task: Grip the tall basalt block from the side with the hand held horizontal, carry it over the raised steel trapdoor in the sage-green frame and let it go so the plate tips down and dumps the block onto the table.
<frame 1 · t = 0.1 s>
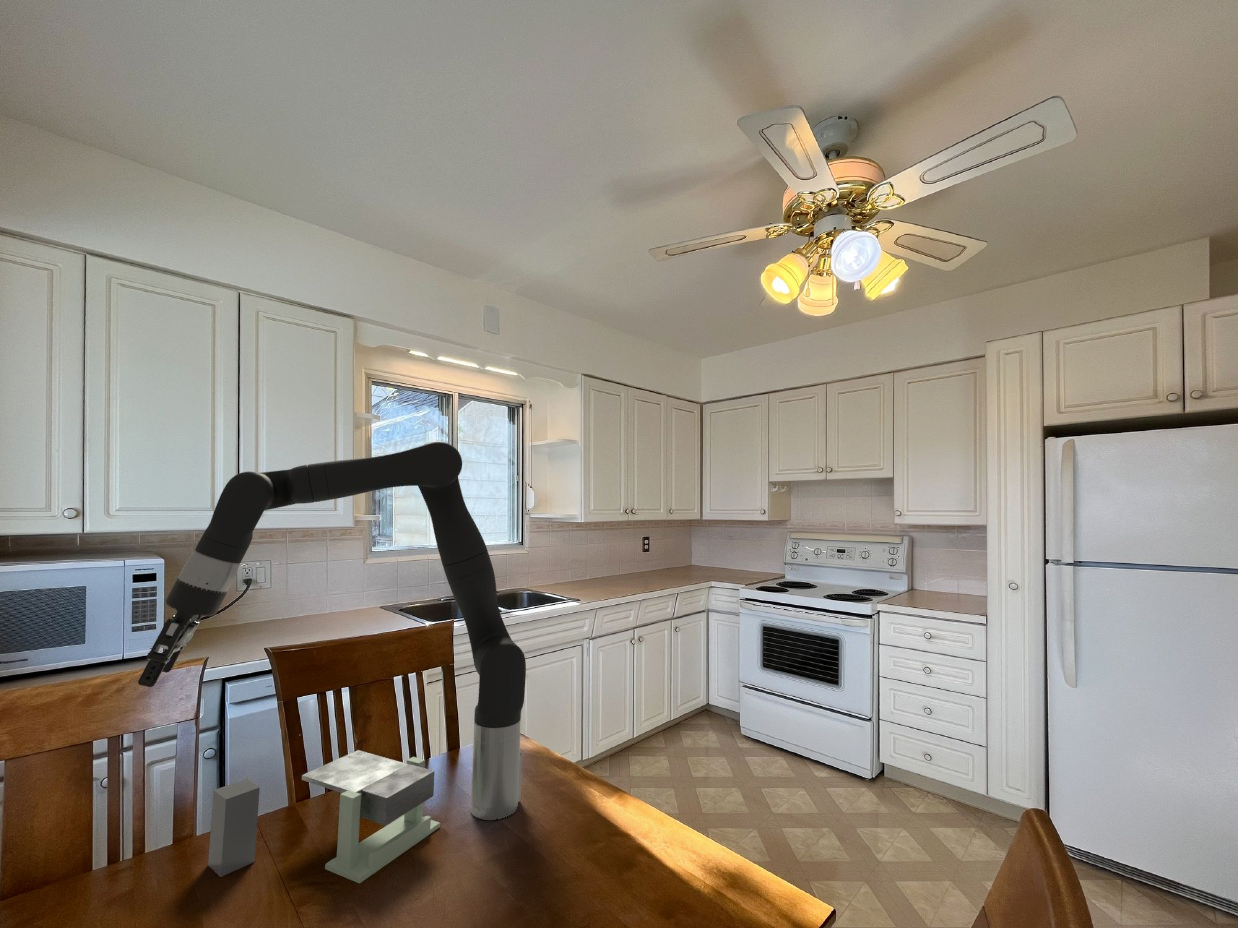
hand: (154, 677, 92), 31 cm above the table, tool tilted 20°, fingers open, 8 cm apart
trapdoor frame: (381, 844, 100), on the table
basalt block: (231, 863, 94), on the table
trapdoor: (369, 783, 103), point 10 cm above the table, hinge at 0.0°
sea urchin shell: (383, 789, 121), on the table
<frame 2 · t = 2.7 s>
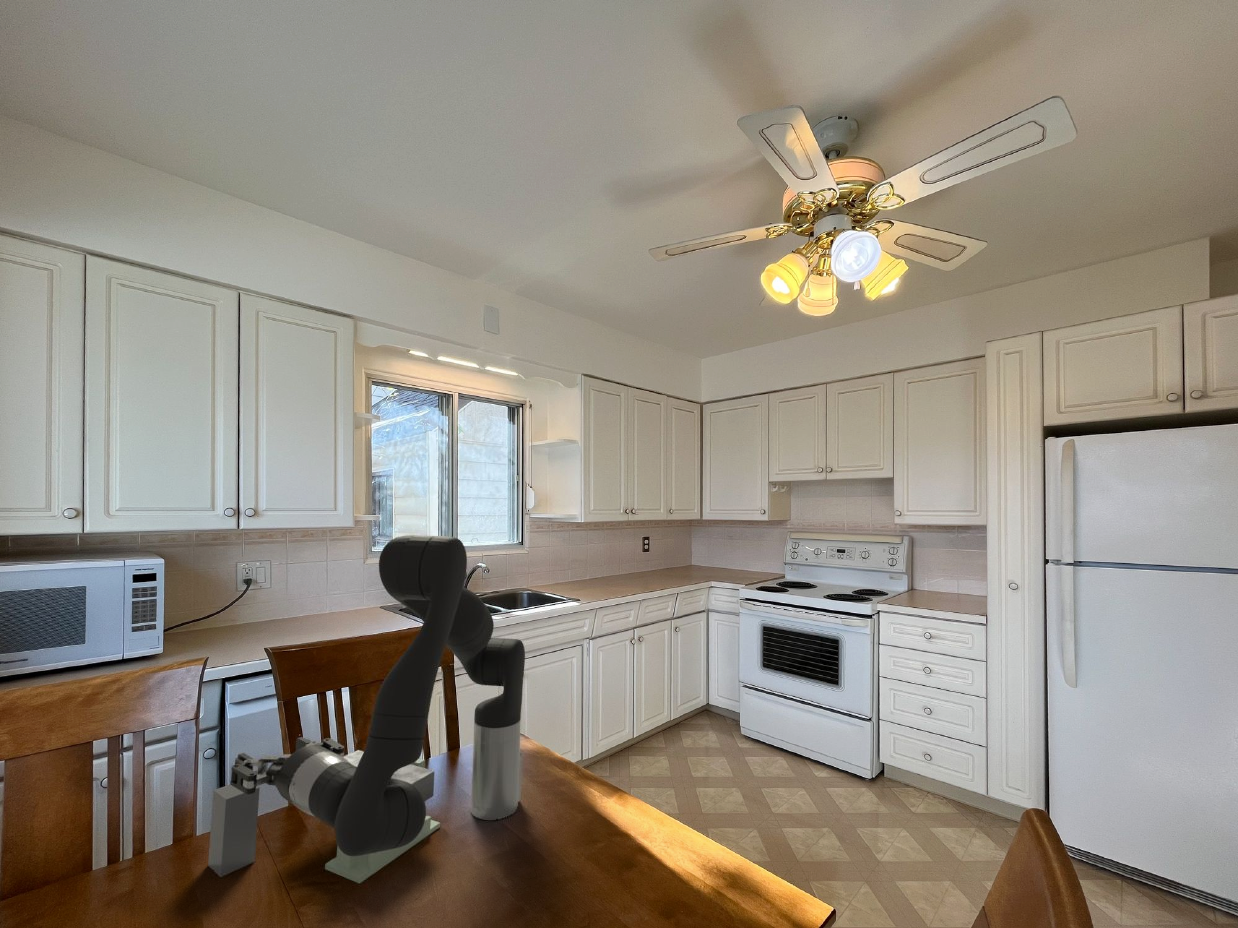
hand: (269, 751, 90), 20 cm above the table, tool horizontal, fingers open, 8 cm apart
nothing on the table moved.
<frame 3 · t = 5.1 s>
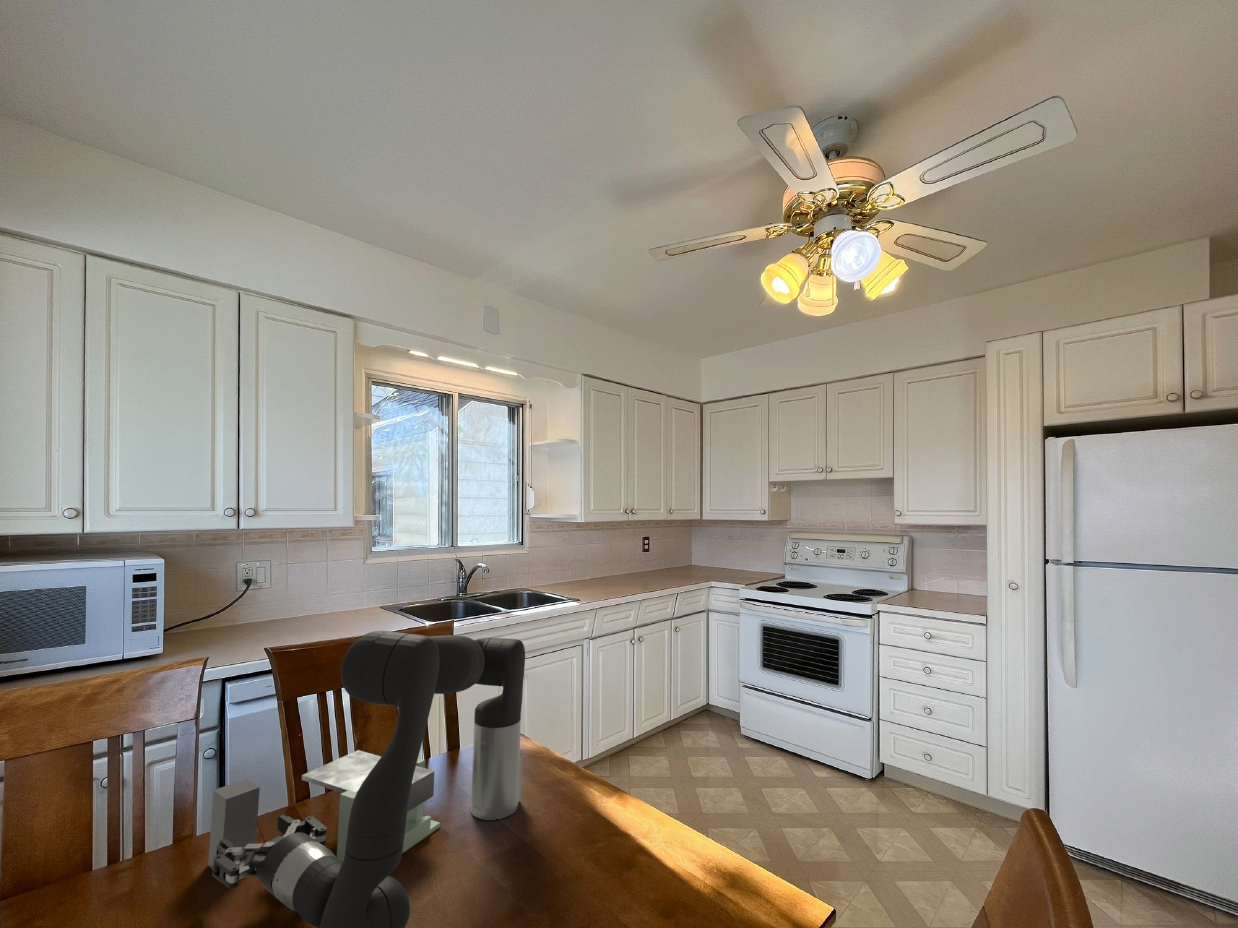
hand: (251, 833, 91), 7 cm above the table, tool horizontal, fingers open, 8 cm apart
nothing on the table moved.
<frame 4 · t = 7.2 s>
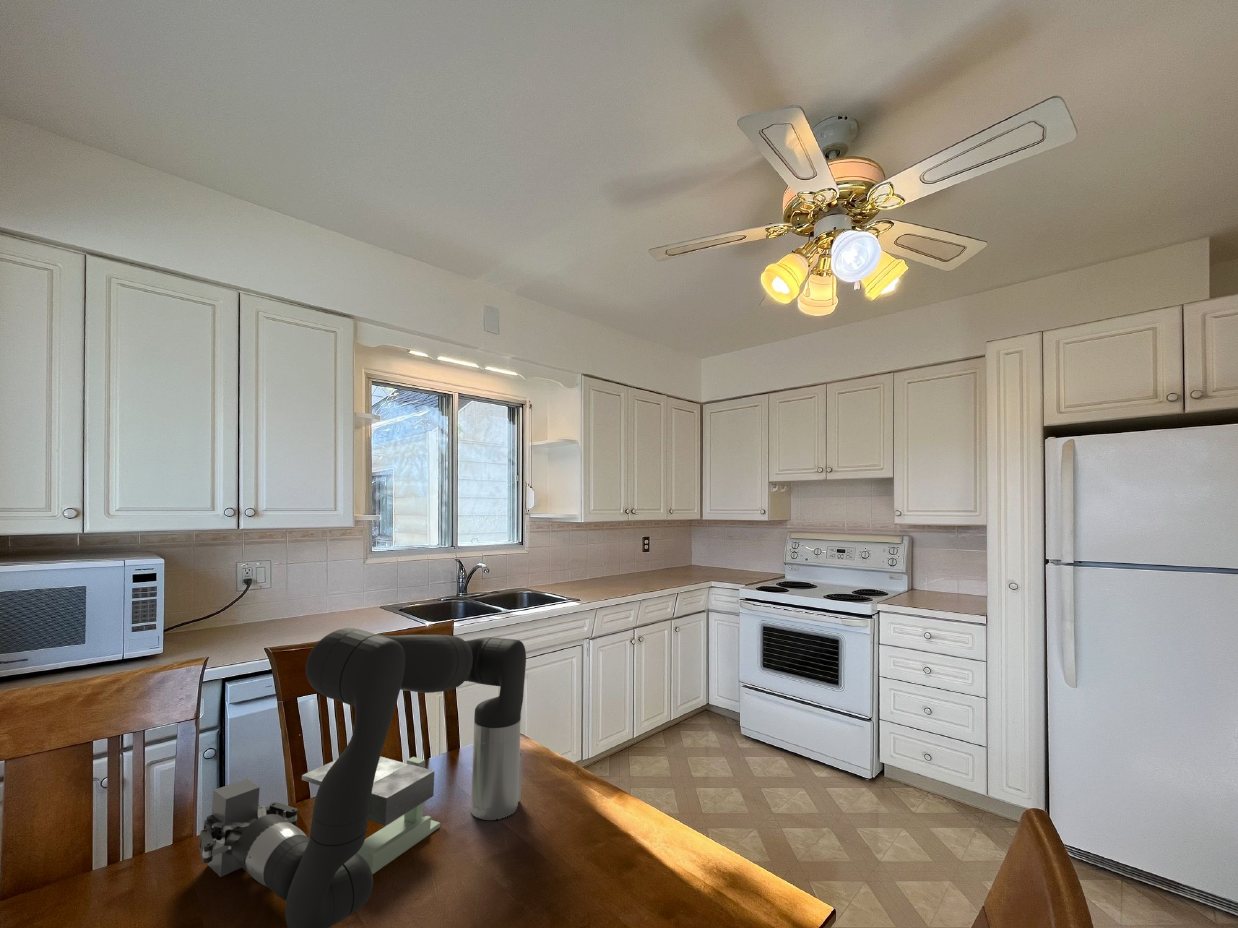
hand: (227, 814, 96), 7 cm above the table, tool horizontal, fingers closed on basalt block, 5 cm apart
basalt block: (231, 863, 94), on the table, touching gripper
everything else where it was.
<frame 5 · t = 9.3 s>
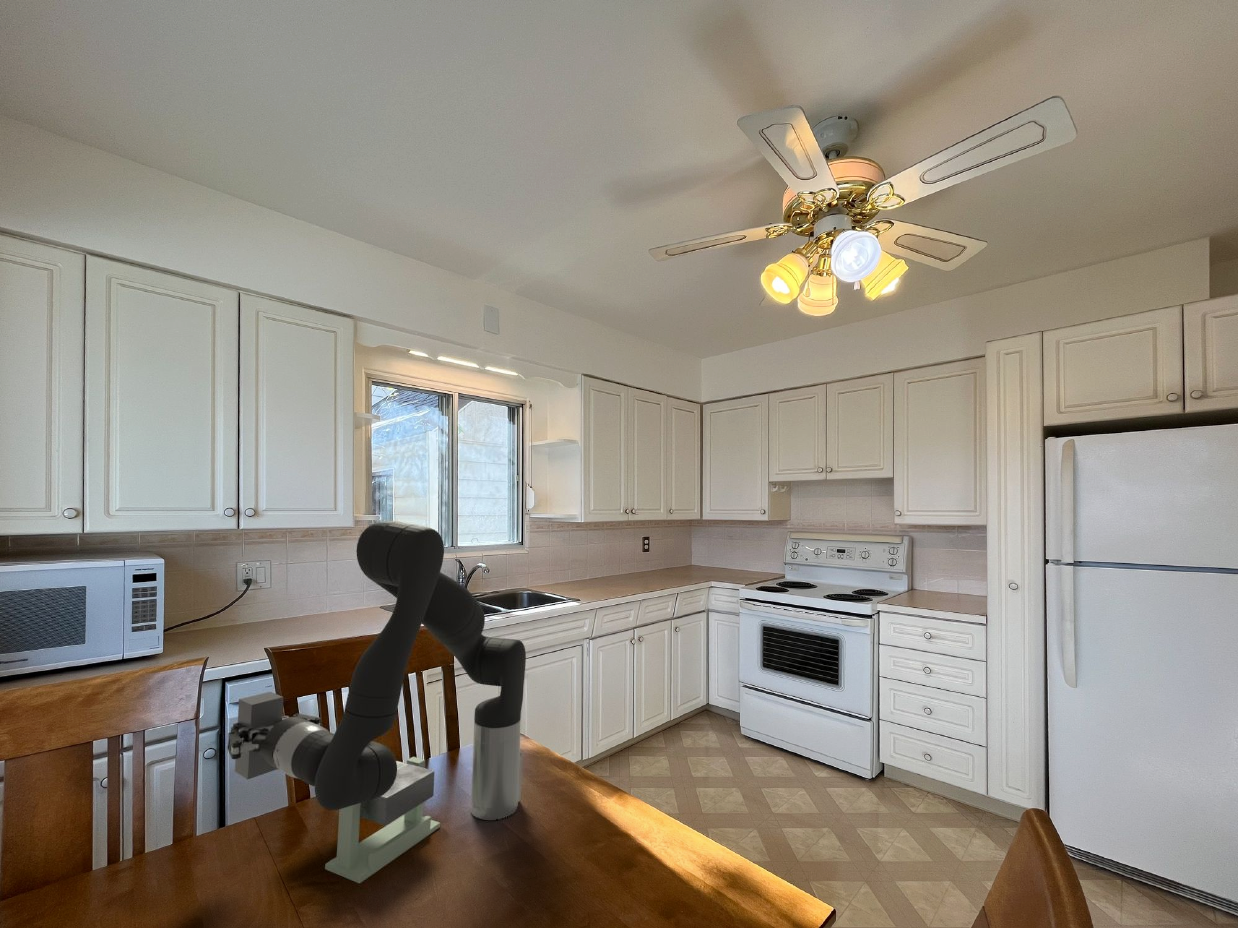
hand: (253, 724, 99), 21 cm above the table, tool horizontal, fingers closed on basalt block, 5 cm apart
basalt block: (257, 769, 97), point 14 cm above the table, touching gripper
everything else where it was.
when the fingers open (21 cm above the table, at t = 11.2 s): basalt block drops 12 cm and tips over, point 2 cm above the table.
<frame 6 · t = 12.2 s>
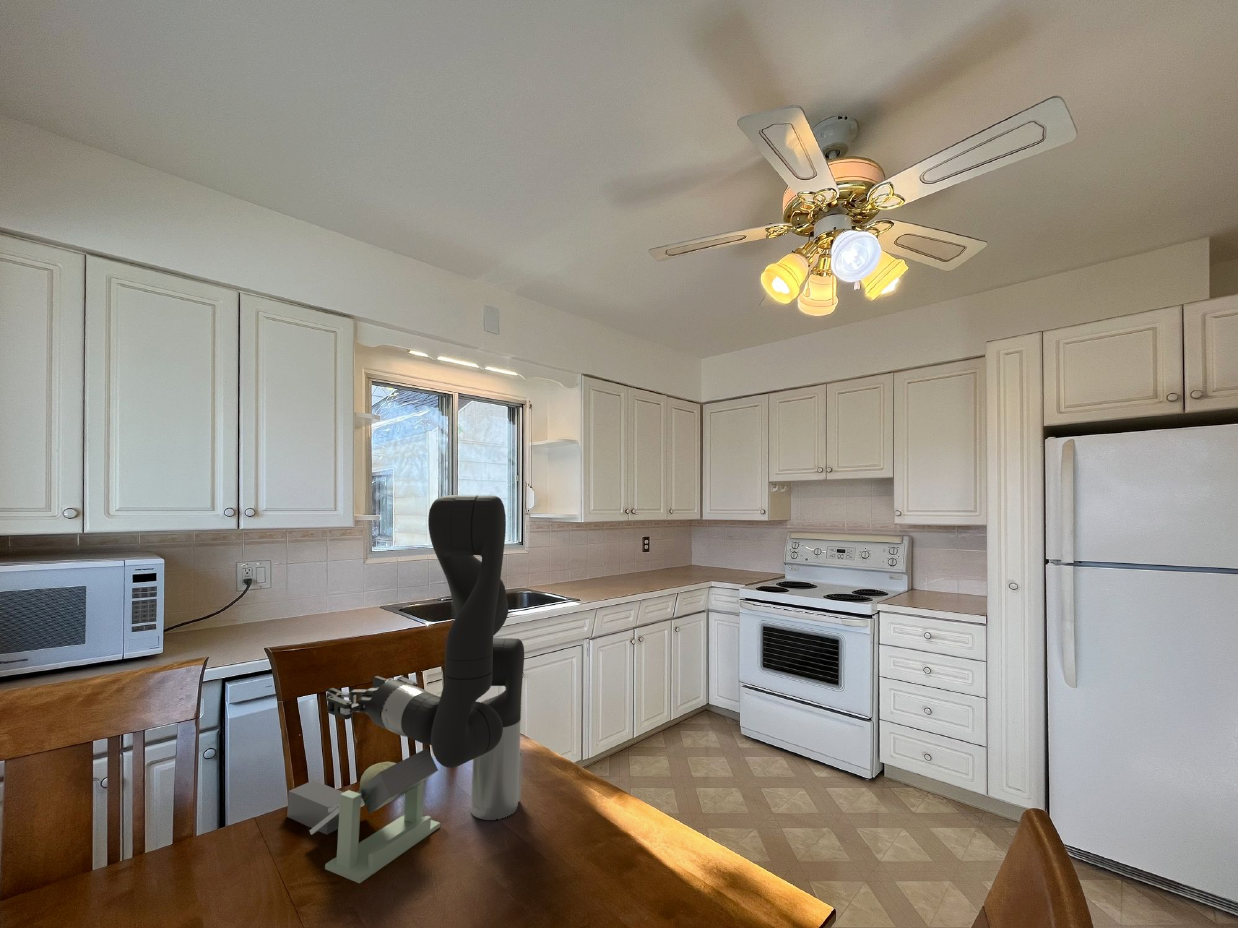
hand: (352, 687, 105), 26 cm above the table, tool horizontal, fingers open, 8 cm apart
basalt block: (340, 815, 106), point 2 cm above the table, tilted 90°
trapdoor: (375, 798, 102), point 8 cm above the table, hinge at -38.5°
everything else where it was.
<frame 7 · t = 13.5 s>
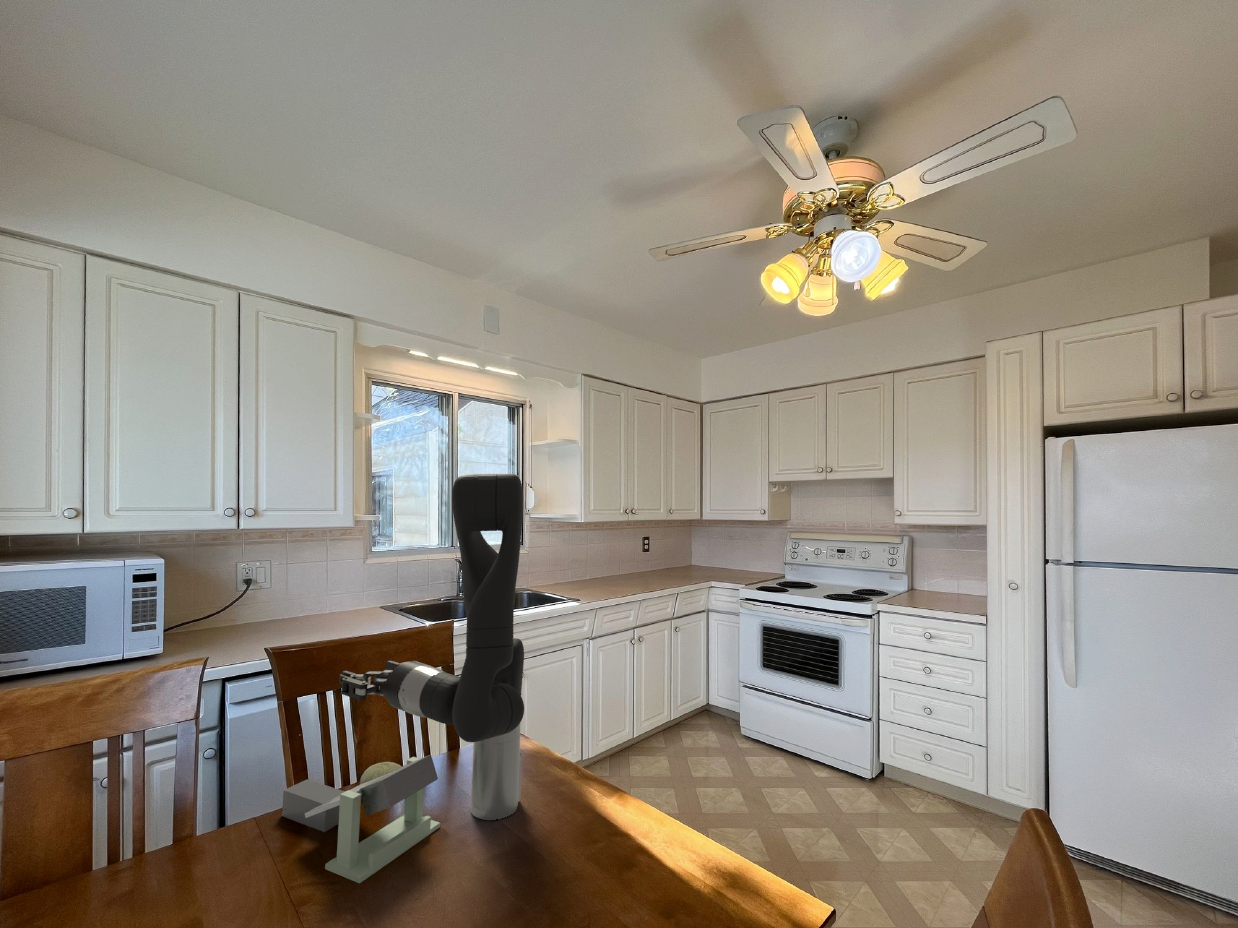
hand: (365, 671, 102), 30 cm above the table, tool horizontal, fingers open, 8 cm apart
basalt block: (337, 812, 106), point 2 cm above the table, tilted 90°
trapdoor: (372, 794, 102), point 8 cm above the table, hinge at -26.3°
everything else where it was.
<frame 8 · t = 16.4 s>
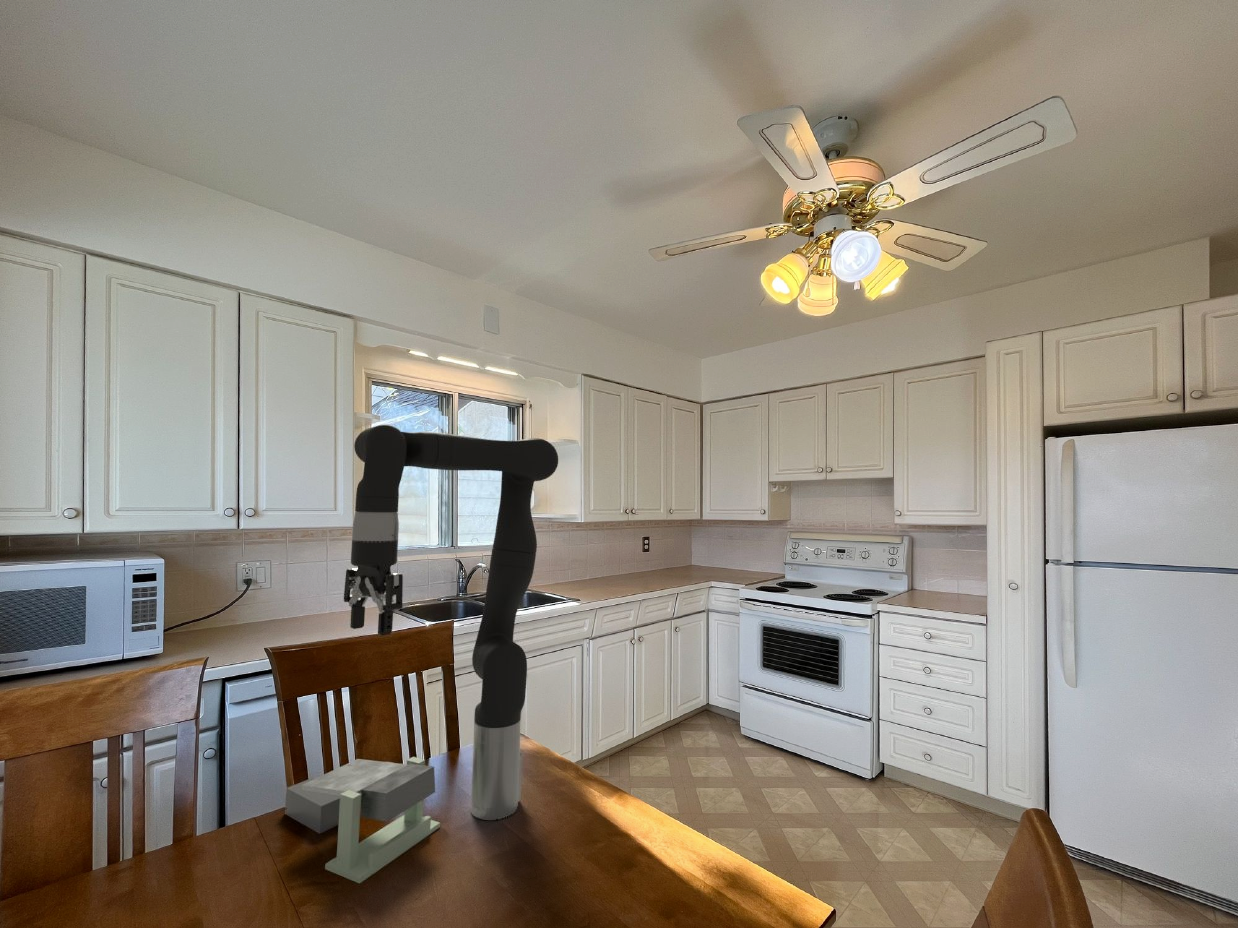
hand: (370, 631, 99), 38 cm above the table, tool pointing down, fingers open, 8 cm apart
trapdoor: (370, 786, 103), point 9 cm above the table, hinge at -6.9°
everything else where it was.
at the end: basalt block point 2.2 cm above the table; the gripper is holding nothing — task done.
